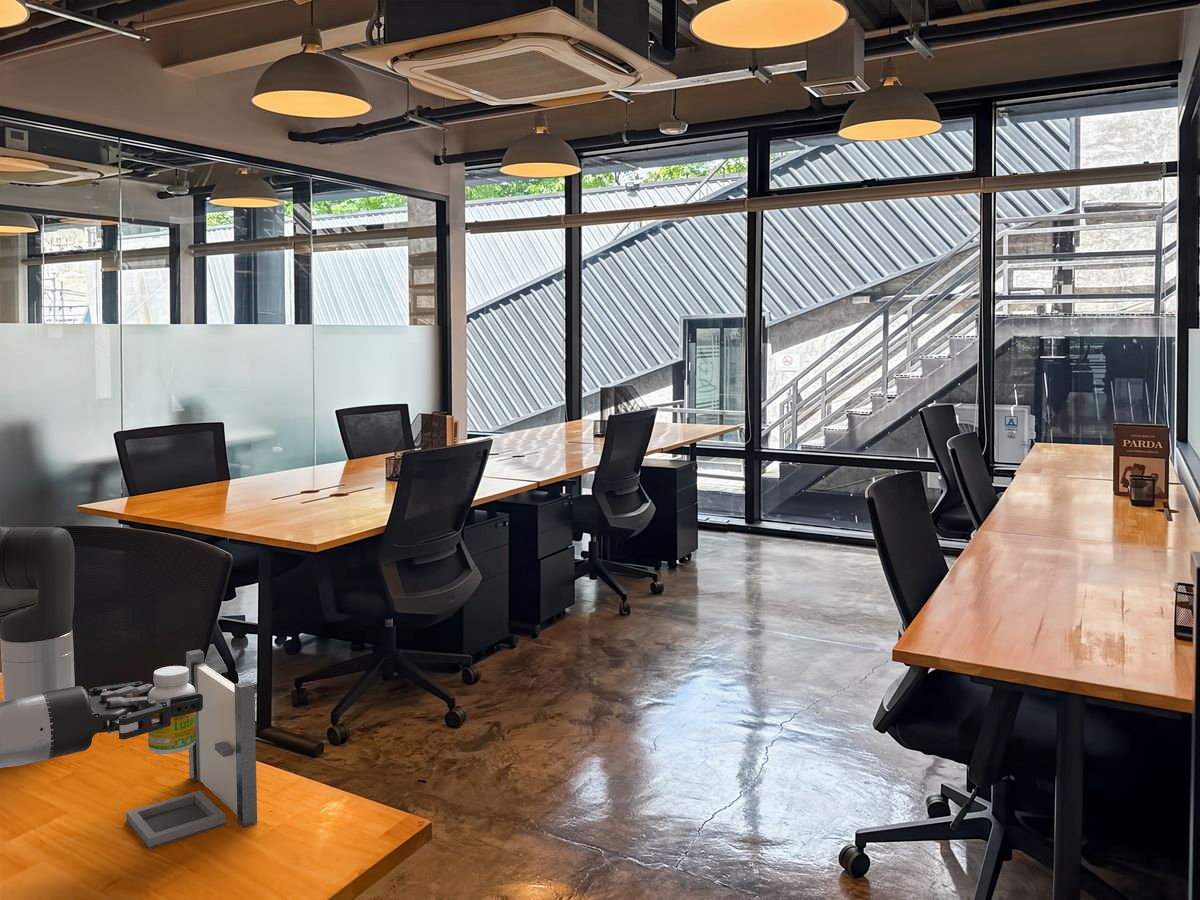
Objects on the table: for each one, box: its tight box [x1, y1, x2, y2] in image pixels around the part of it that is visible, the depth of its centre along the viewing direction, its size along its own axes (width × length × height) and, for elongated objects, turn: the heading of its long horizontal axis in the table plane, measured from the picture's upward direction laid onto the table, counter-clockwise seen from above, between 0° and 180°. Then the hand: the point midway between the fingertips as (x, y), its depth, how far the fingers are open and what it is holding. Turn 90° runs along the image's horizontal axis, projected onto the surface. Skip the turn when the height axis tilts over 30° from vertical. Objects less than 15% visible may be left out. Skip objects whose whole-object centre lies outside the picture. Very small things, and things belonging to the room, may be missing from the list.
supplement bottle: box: [147, 665, 196, 755], centre depth 115 cm, size 5×5×10 cm
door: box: [194, 663, 237, 815], centre depth 122 cm, size 15×3×16 cm, turn 43°
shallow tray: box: [125, 790, 226, 850], centre depth 116 cm, size 9×9×1 cm
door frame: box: [185, 649, 258, 829], centre depth 122 cm, size 19×2×18 cm, turn 43°
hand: (192, 694), depth 117 cm, fingers closed on supplement bottle, 5 cm apart
